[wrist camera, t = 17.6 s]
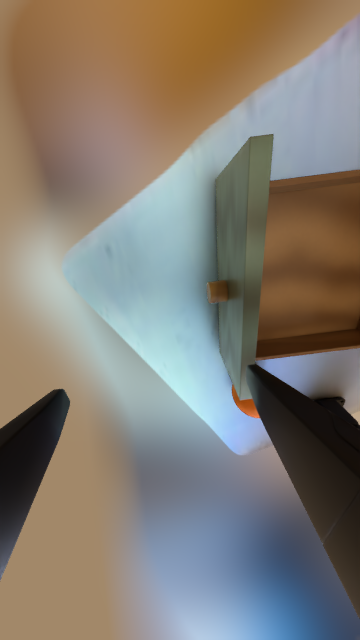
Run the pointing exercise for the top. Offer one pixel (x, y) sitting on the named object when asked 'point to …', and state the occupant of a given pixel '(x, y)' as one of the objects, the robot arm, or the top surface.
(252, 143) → the drawer
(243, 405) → the orange
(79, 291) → the top surface
